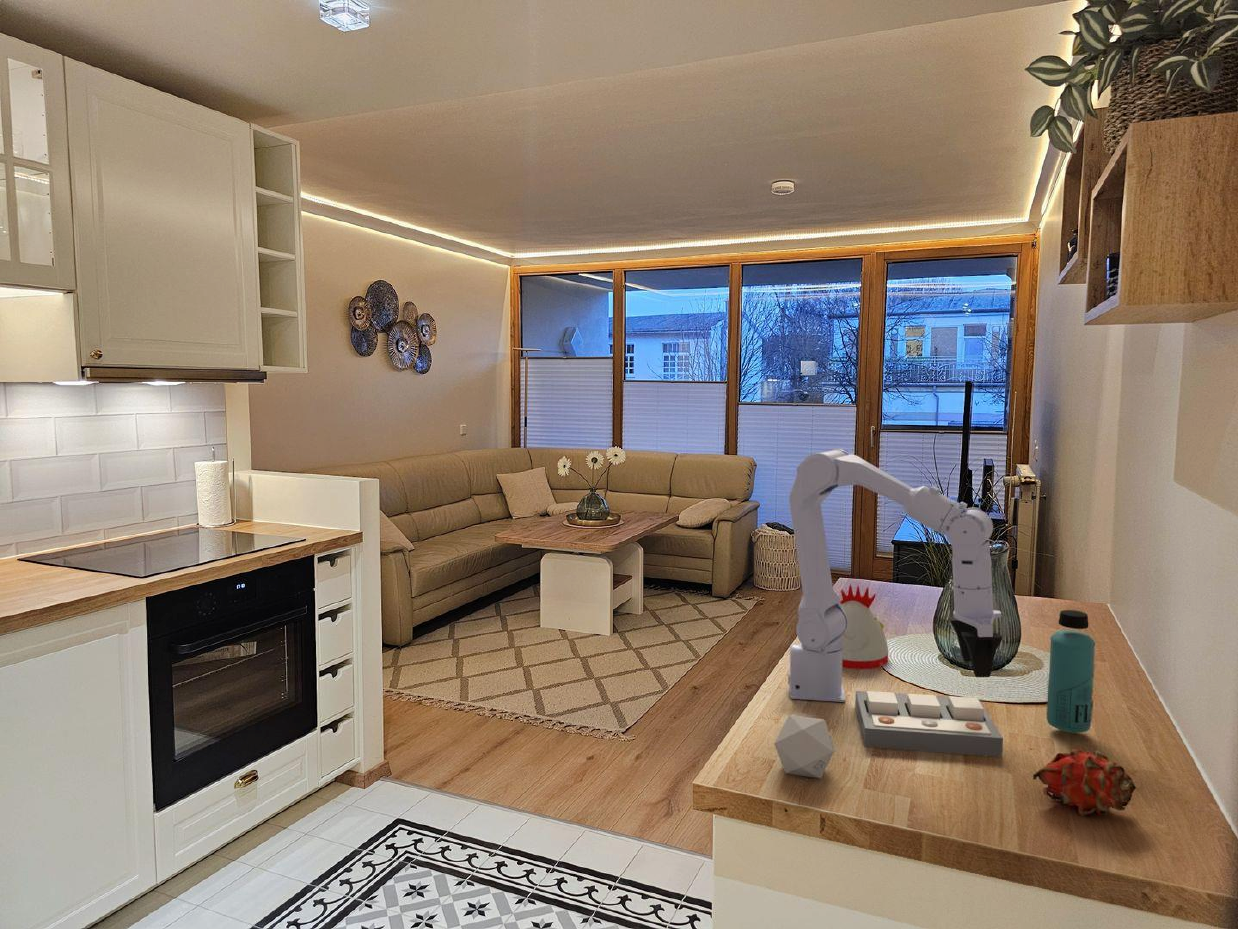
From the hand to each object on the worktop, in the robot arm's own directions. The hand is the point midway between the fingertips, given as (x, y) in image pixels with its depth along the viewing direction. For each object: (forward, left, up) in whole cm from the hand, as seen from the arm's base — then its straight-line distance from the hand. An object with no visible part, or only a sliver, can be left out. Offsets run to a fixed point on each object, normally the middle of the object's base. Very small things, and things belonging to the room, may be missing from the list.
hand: (976, 668), depth 131 cm
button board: (-8, -2, -10) cm, 13 cm away
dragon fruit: (+8, -23, -11) cm, 26 cm away
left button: (-15, -1, -8) cm, 16 cm away
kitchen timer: (-16, +32, -11) cm, 37 cm away
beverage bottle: (+14, +1, -11) cm, 18 cm away
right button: (-2, -1, -8) cm, 8 cm away
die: (-28, -19, -11) cm, 35 cm away
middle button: (-8, -1, -8) cm, 11 cm away
